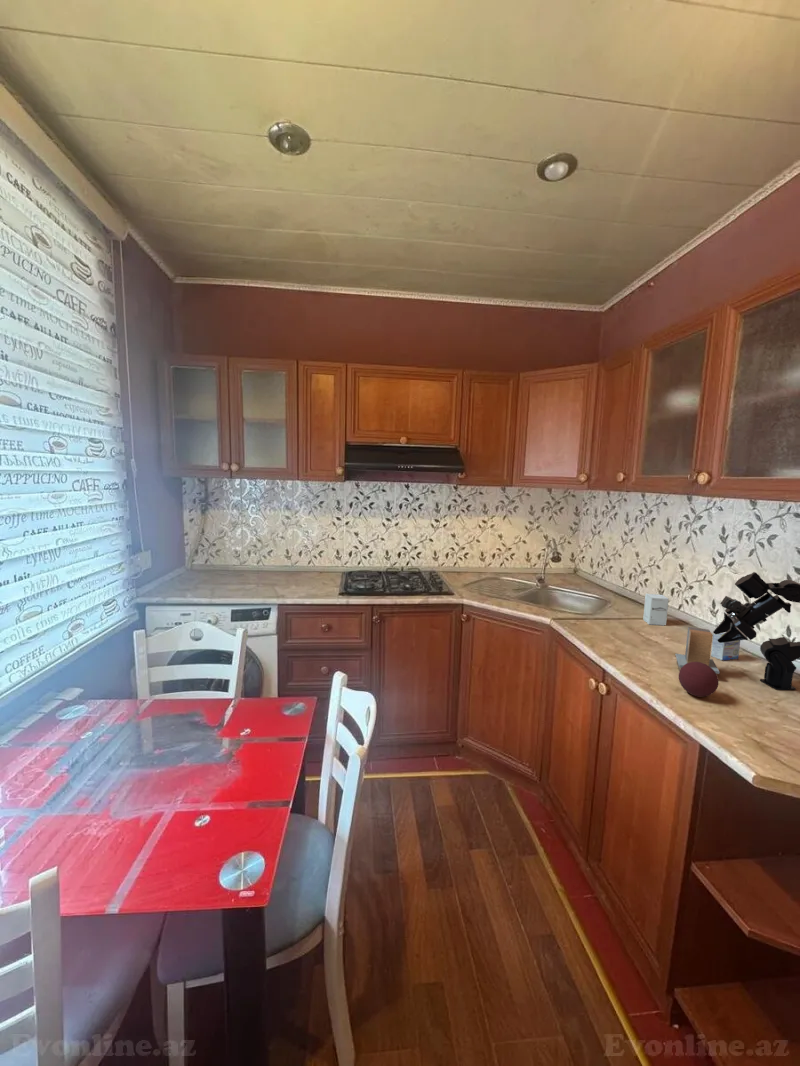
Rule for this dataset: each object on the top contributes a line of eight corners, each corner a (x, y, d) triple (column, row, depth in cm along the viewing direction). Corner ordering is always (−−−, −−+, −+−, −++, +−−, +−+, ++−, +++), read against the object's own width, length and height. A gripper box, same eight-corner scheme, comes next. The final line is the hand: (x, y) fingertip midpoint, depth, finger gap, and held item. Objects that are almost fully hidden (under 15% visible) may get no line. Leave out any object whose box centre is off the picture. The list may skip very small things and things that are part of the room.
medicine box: (721, 661, 160) (724, 637, 159) (710, 656, 165) (712, 633, 164) (738, 659, 163) (741, 636, 161) (726, 654, 167) (729, 632, 166)
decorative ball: (670, 685, 140) (673, 655, 139) (704, 688, 139) (708, 657, 138) (687, 701, 130) (691, 669, 129) (724, 704, 129) (728, 671, 128)
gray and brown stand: (711, 668, 154) (712, 659, 153) (718, 681, 144) (719, 671, 144) (674, 662, 158) (675, 653, 158) (678, 674, 149) (679, 664, 148)
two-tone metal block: (705, 660, 152) (709, 629, 151) (708, 667, 147) (712, 635, 145) (684, 657, 155) (688, 626, 153) (687, 663, 149) (690, 632, 148)
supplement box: (648, 624, 199) (651, 597, 198) (642, 619, 206) (645, 593, 205) (666, 626, 198) (669, 598, 196) (660, 620, 205) (662, 594, 204)
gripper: (734, 584, 152) (693, 611, 158) (746, 596, 136) (700, 626, 142) (761, 609, 149) (719, 636, 156) (777, 625, 133) (728, 654, 139)
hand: (716, 637), depth 148 cm, fingers open, 9 cm apart
